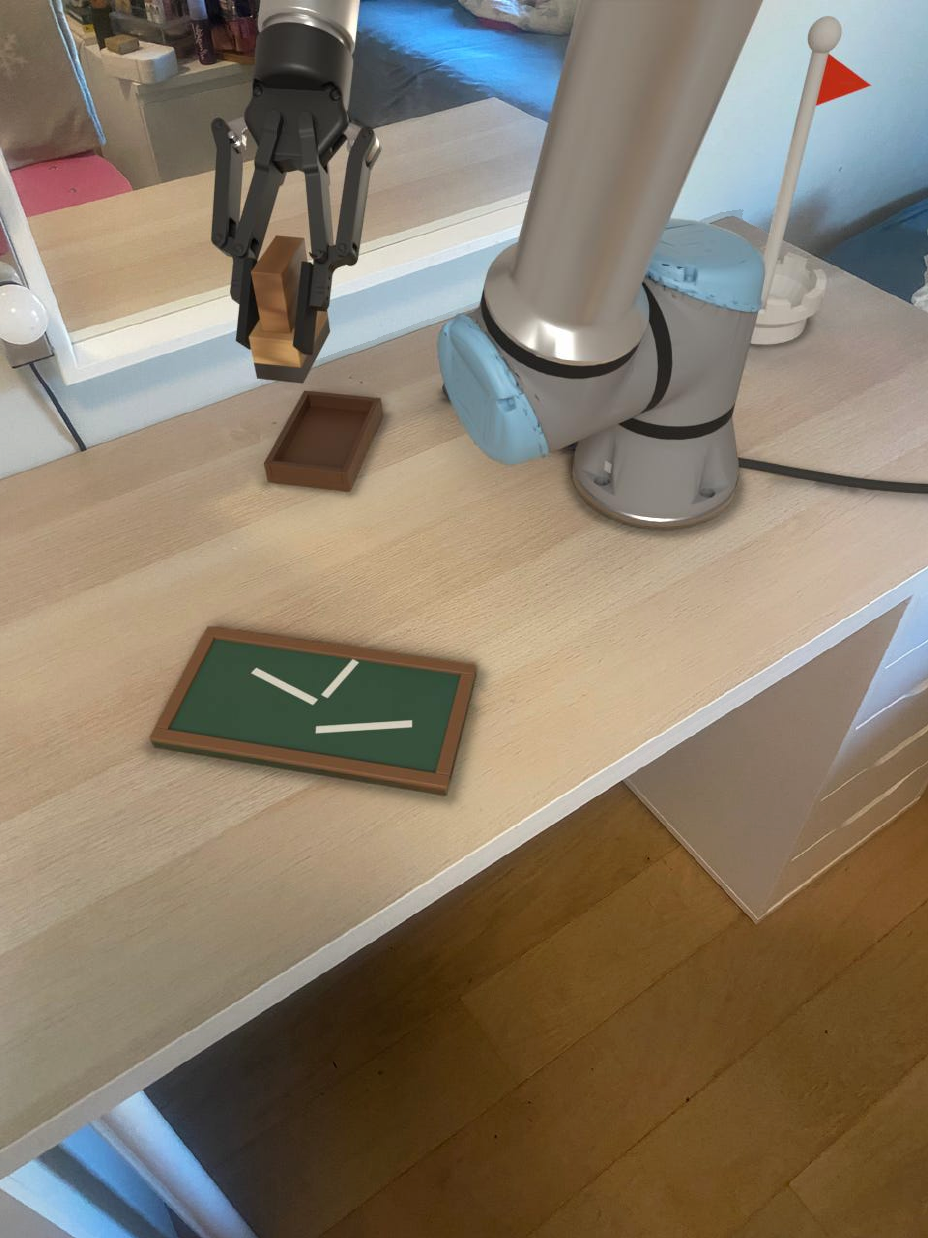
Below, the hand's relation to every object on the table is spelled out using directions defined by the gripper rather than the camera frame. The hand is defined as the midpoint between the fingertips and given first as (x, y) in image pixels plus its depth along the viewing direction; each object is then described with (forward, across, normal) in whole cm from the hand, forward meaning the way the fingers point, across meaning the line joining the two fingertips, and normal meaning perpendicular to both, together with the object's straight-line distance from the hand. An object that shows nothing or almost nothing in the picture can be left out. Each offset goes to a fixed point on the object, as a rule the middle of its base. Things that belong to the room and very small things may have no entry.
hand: (274, 347), depth 71 cm
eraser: (-1, 0, -5) cm, 5 cm away
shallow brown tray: (+6, 0, -17) cm, 18 cm away
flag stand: (-16, -42, -40) cm, 60 cm away
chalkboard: (+28, -8, +5) cm, 29 cm away
